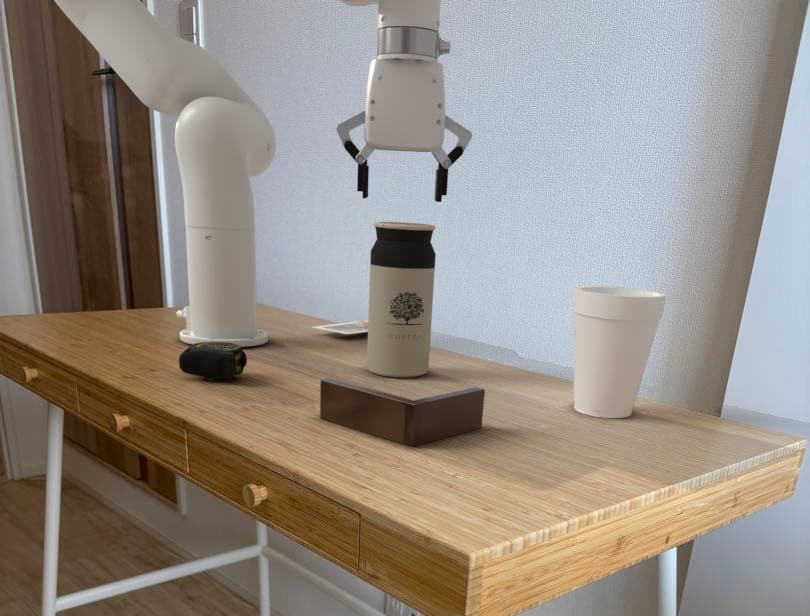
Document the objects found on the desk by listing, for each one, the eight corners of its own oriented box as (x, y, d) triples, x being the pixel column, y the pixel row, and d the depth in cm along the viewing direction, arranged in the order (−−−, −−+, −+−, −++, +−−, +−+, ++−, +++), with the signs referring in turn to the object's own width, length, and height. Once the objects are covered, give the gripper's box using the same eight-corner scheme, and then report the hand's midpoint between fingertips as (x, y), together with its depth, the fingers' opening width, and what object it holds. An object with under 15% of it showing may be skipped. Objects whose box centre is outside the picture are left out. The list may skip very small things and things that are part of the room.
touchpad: (310, 334, 131) (310, 320, 130) (373, 326, 142) (374, 313, 141) (346, 341, 126) (347, 327, 126) (409, 332, 137) (409, 319, 136)
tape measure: (176, 380, 97) (174, 347, 95) (203, 369, 103) (201, 338, 102) (231, 386, 96) (230, 353, 94) (254, 374, 102) (254, 343, 100)
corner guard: (319, 418, 84) (320, 379, 83) (390, 403, 92) (392, 367, 90) (412, 447, 77) (414, 404, 75) (481, 428, 84) (485, 389, 82)
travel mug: (368, 364, 111) (374, 220, 104) (428, 367, 111) (437, 224, 104) (364, 376, 104) (369, 223, 97) (427, 380, 104) (437, 226, 97)
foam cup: (544, 402, 96) (558, 285, 91) (610, 398, 99) (627, 286, 94) (593, 424, 88) (611, 297, 83) (662, 419, 91) (684, 297, 86)
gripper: (473, 58, 106) (463, 202, 113) (338, 50, 105) (336, 196, 112) (481, 49, 99) (470, 203, 106) (336, 40, 98) (334, 197, 105)
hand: (401, 199), depth 109 cm, fingers open, 9 cm apart
